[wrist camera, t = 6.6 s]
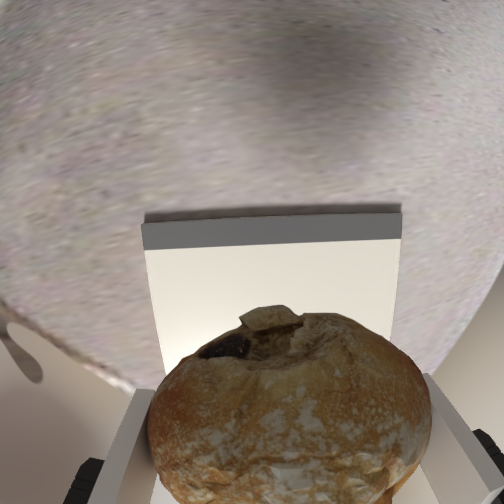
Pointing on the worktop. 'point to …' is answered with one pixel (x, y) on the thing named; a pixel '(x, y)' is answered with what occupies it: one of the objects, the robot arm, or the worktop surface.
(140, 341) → the worktop surface
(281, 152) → the worktop surface
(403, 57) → the worktop surface
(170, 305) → the mat
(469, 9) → the worktop surface
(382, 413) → the bread roll
